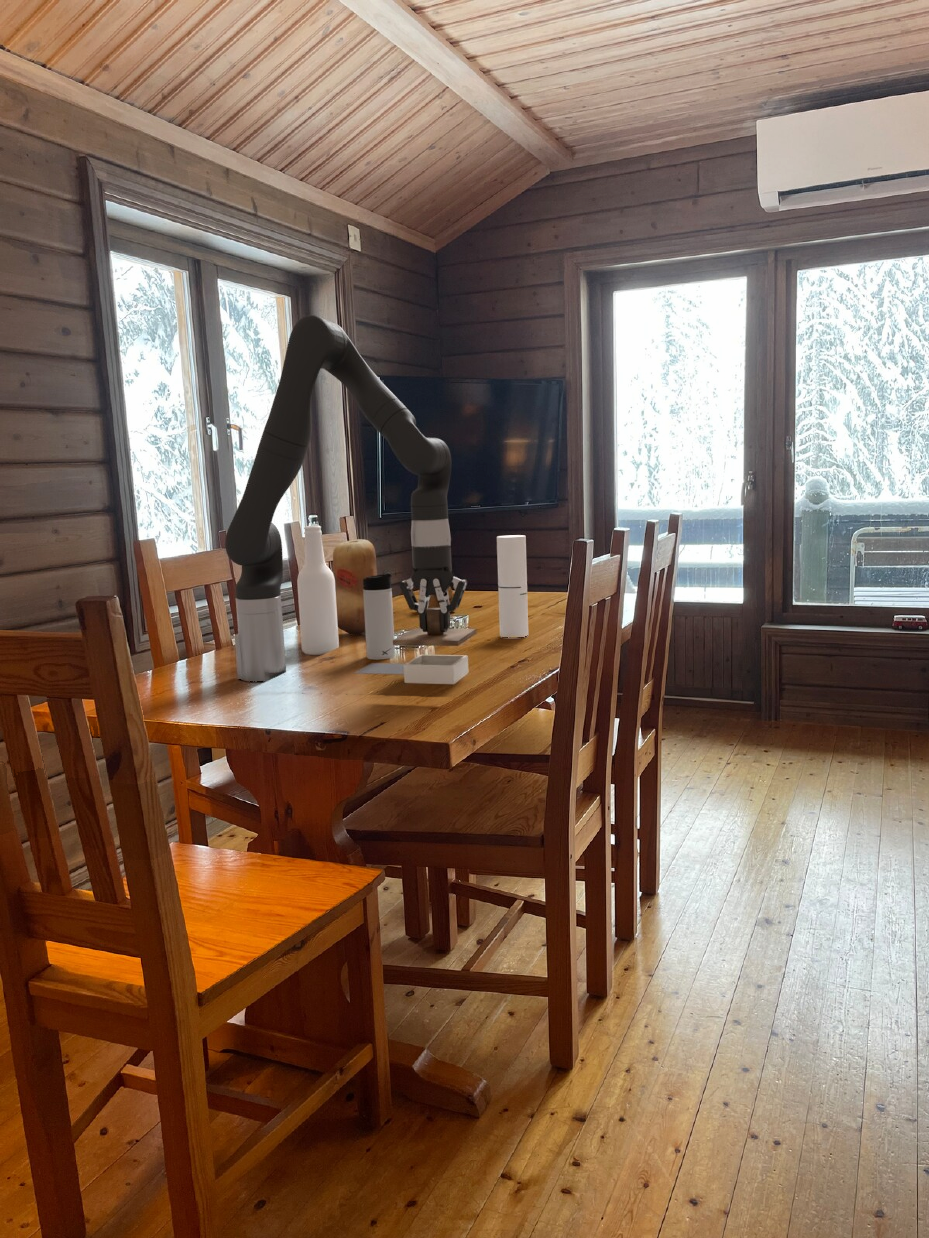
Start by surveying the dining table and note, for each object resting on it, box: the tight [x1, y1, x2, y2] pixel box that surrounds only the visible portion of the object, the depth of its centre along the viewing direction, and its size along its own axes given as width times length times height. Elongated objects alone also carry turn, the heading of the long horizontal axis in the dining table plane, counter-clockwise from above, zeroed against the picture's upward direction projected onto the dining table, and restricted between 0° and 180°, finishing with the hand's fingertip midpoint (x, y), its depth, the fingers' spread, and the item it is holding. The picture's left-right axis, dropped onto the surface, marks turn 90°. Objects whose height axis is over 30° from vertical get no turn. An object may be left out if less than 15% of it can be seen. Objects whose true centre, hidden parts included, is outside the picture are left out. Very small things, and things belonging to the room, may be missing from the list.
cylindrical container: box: [496, 534, 529, 639], centre depth 231 cm, size 7×7×25 cm
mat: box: [354, 662, 405, 676], centre depth 192 cm, size 13×10×2 cm
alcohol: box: [296, 525, 340, 656], centre depth 219 cm, size 9×9×30 cm
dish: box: [403, 654, 469, 685], centre depth 182 cm, size 10×10×5 cm
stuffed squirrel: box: [418, 586, 457, 613], centre depth 277 cm, size 10×14×13 cm
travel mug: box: [363, 572, 396, 660], centre depth 204 cm, size 6×7×20 cm
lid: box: [393, 608, 477, 647], centre depth 181 cm, size 13×13×6 cm
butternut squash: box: [332, 538, 378, 637], centre depth 240 cm, size 14×13×25 cm
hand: (435, 630), depth 181 cm, fingers closed on lid, 3 cm apart
